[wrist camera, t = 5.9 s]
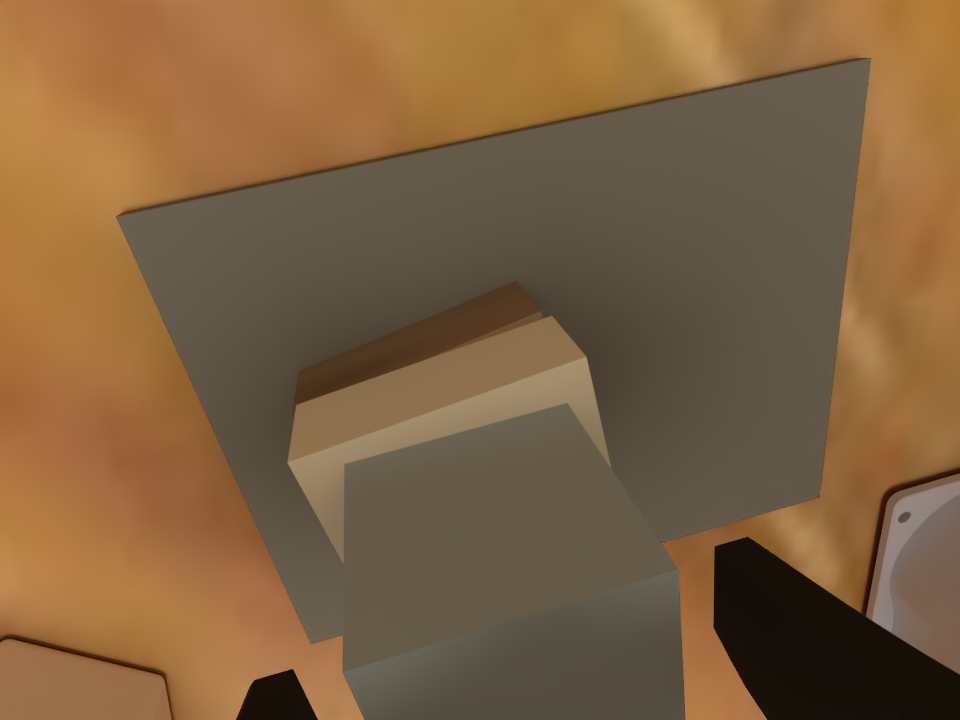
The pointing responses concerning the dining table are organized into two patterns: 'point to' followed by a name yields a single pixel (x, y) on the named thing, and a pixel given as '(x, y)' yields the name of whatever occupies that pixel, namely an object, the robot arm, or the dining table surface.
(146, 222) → the felt mat
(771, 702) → the robot arm
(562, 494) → the gray cube
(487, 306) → the walnut slab
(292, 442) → the cream slab
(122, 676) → the jar
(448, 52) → the dining table surface
